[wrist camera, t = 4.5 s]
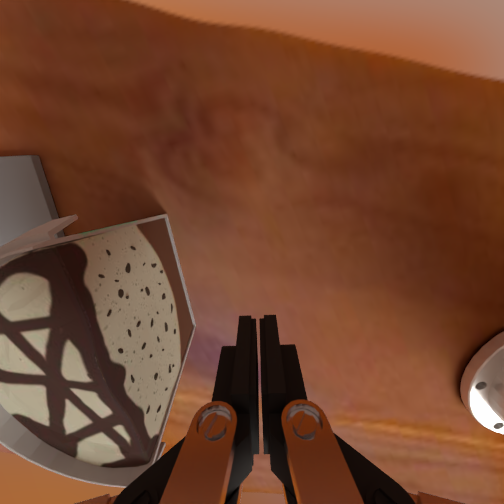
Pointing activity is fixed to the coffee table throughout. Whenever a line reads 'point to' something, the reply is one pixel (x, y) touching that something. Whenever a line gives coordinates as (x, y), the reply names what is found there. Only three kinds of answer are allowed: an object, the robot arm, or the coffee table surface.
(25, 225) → the mat
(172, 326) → the food container
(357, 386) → the coffee table surface
